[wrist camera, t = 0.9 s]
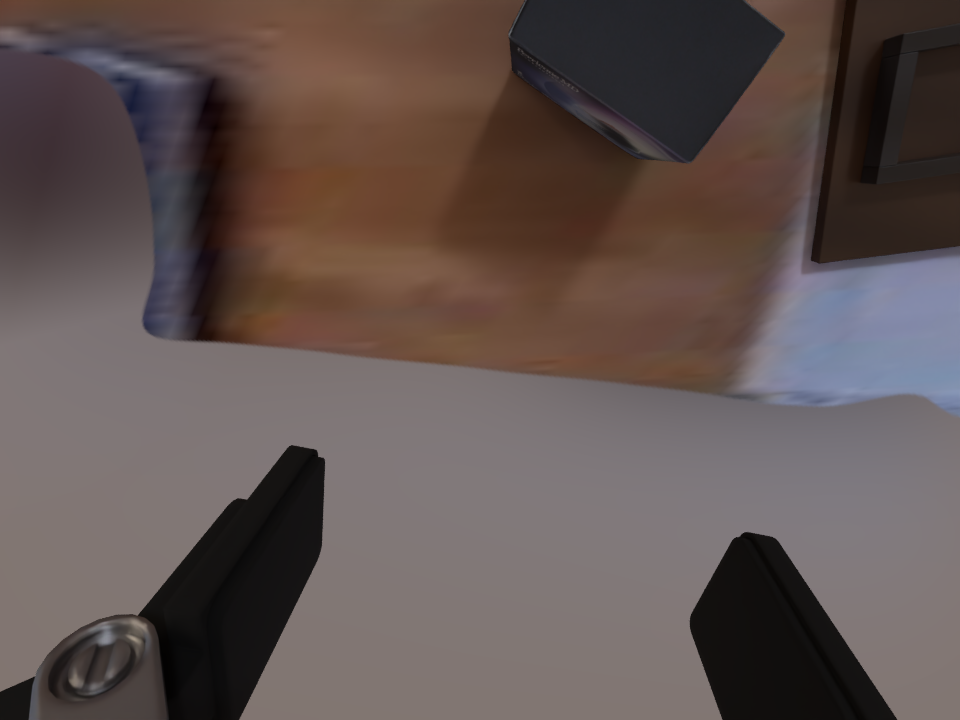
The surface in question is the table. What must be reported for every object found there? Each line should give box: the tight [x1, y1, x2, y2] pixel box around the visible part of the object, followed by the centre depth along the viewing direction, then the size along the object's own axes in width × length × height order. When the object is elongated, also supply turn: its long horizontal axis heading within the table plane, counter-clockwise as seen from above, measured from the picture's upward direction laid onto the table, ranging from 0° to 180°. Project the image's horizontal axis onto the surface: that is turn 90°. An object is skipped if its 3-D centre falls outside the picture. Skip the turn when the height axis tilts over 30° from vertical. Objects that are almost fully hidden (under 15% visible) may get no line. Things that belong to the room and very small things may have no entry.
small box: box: [509, 0, 785, 163], centre depth 24 cm, size 11×6×10 cm, turn 59°
